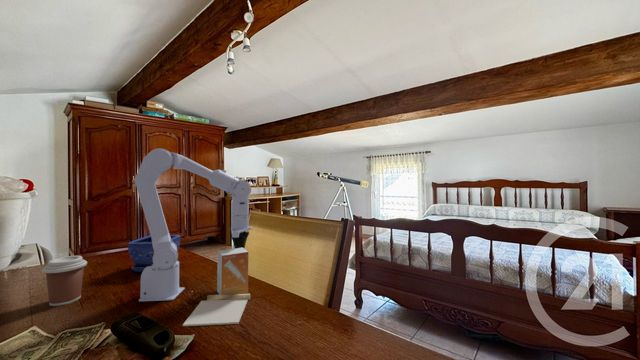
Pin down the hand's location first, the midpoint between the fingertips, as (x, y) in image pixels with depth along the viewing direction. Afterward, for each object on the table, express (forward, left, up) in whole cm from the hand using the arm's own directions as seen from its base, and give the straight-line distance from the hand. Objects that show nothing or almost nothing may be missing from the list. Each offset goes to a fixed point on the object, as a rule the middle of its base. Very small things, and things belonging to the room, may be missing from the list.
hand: (240, 253), depth 88 cm
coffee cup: (-47, -10, -10) cm, 49 cm away
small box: (0, -9, -10) cm, 13 cm away
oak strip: (0, -14, -9) cm, 17 cm away
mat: (-1, -21, -9) cm, 23 cm away
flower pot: (-36, +16, -10) cm, 40 cm away
